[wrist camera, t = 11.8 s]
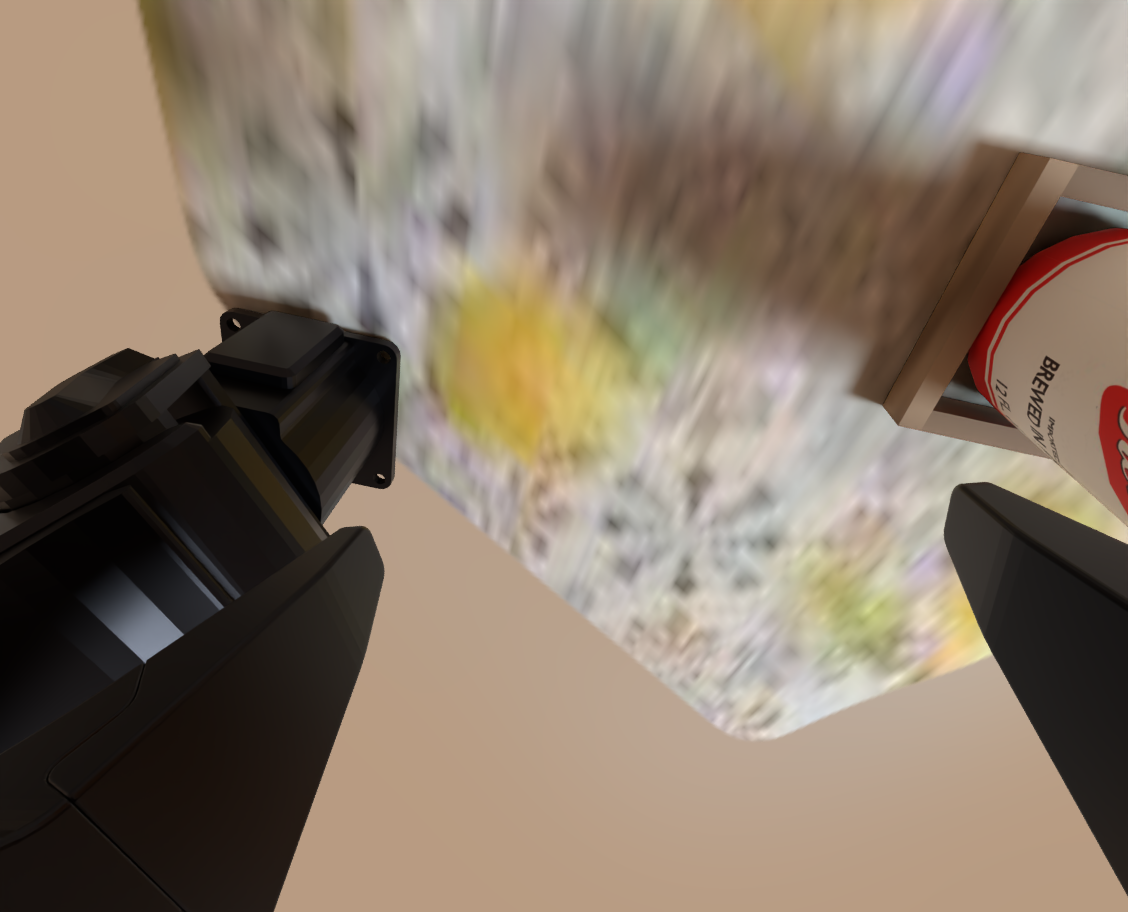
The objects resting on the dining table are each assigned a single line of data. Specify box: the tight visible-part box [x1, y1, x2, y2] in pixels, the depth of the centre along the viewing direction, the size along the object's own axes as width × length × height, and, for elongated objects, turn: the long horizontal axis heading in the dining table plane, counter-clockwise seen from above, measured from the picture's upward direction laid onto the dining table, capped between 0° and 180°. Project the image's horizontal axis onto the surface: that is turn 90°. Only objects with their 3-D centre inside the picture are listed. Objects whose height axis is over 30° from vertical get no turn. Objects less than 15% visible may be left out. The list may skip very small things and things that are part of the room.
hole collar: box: [883, 152, 1128, 459], centre depth 19 cm, size 8×8×2 cm
